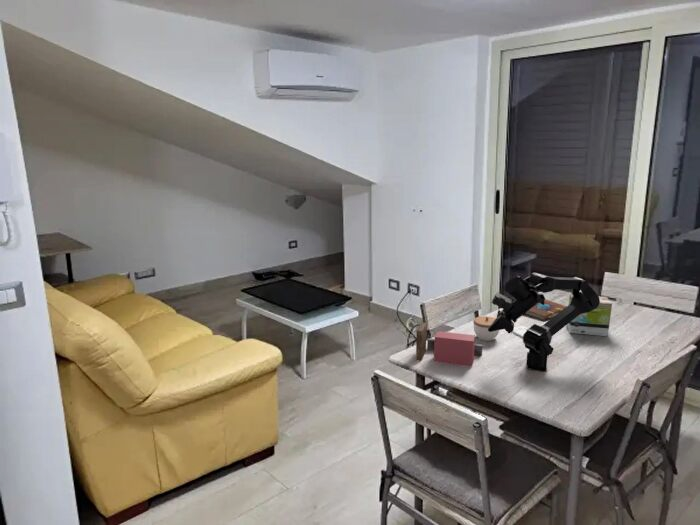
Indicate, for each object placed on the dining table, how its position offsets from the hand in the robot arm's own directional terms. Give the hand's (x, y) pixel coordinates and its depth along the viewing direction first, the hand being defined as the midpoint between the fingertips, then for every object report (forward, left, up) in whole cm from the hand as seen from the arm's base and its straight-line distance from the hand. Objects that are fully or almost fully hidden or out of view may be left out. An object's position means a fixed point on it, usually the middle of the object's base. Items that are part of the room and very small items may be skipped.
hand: (488, 330), depth 186 cm
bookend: (+14, -2, -14) cm, 20 cm away
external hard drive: (-13, -36, -14) cm, 41 cm away
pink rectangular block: (+12, 0, -14) cm, 18 cm away
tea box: (-37, -47, -14) cm, 62 cm away
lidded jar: (+3, -26, -14) cm, 30 cm away
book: (-21, -69, -14) cm, 73 cm away
